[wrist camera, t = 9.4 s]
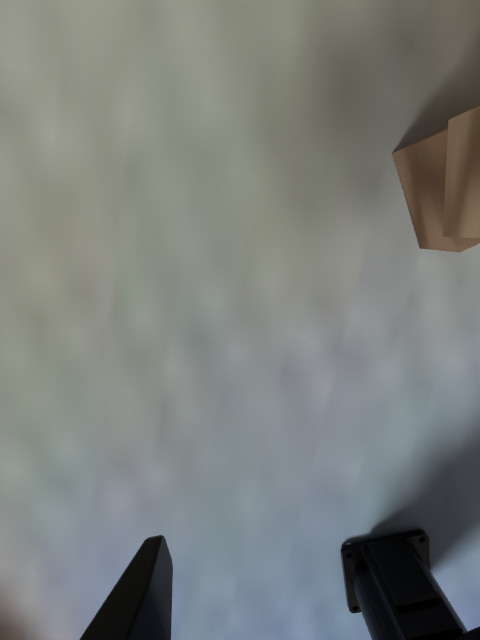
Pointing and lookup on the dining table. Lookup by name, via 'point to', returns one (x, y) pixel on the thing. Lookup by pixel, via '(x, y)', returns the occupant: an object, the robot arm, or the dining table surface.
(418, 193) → the tower base
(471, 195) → the tower mid
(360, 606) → the robot arm
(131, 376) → the dining table surface
